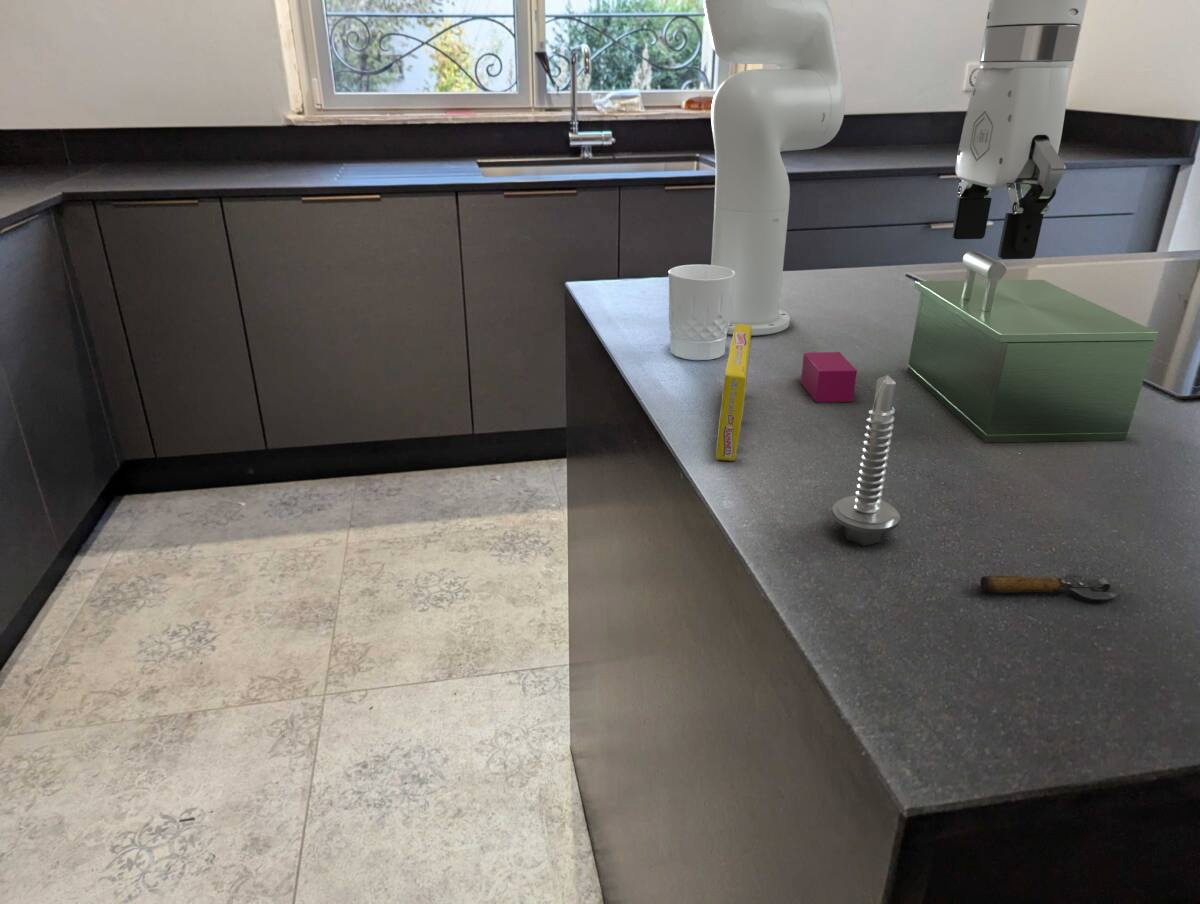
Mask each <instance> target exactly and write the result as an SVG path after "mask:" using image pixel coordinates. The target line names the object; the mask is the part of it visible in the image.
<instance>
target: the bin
mask: <svg viewBox="0 0 1200 904" xmlns="http://www.w3.org/2000/svg"><path fill="white" fill-rule="evenodd" d="M912 336H913V337H912V341H911V346H910V347H911V348H910V353H909V358H908V359H909V360H908V365H907V371H906V372H907V373H908V375H910V376H911V377H912V378H913V379H914V380H915V381H916V382H918V383H919V385H920V386H922V387H923V388H924V389H925V390H927V392H928V393H930V394H931V395H932V396H933V397H934V398H935V399H936V400H938V402H939V403H941V404H942V405H943V406H944V407H946V408H947V410H949V411H950V412H951V413H952V414H953V415H954V416H955V417H957V419H959V420H960V421H961V422H962V423H963V424H964V425H965V426H966V427H967V428H969V430H971V431H972V432H973V433H974V434H975V435H976V436H977V437H979V438H980V439H981V441H983V442H984V443H985V444H986V443H987V444H989V443H990V444H991V443H995V444H996V443H1040V442H1041V443H1042V442H1043V443H1044V442H1045V443H1046V442H1050V443H1051V442H1088V441H1089V442H1092V441H1093V442H1097V441H1099V442H1101V441H1102V442H1103V441H1126V440H1127V437H1128V433H1129V430H1130V428H1131V427H1130V426H1131V423H1132V420H1133V416H1134V414H1135V410H1136V408H1137V404H1138V400H1139V397H1140V393H1141V391H1142V387H1143V384H1144V380H1145V377H1146V373H1147V370H1148V367H1149V364H1150V360H1151V357H1152V354H1153V350H1154V347H1155V344H1156V340H1154V341H1083V342H1012V343H999V342H997V341H996V340H994V339H993V338H991V337H990V336H988V335H986V334H985V333H983V332H982V331H980V330H979V329H977V328H976V327H974V326H973V325H971V324H969V323H968V322H966V321H965V320H963V319H962V318H960V317H959V316H957V315H956V314H954V313H952V312H951V311H949V310H948V309H946V308H945V307H943V306H942V305H940V304H939V303H937V302H935V301H934V300H932V299H931V298H929V297H928V296H926V295H925V294H923V293H922V292H920V294H919V300H918V307H917V312H916V317H915V324H914V330H913V335H912Z"/></svg>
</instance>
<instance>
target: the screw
mask: <svg viewBox="0 0 1200 904" xmlns="http://www.w3.org/2000/svg"><path fill="white" fill-rule="evenodd" d="M896 386H897V382H895V380H894V379H893V378H891V376H890V375H888V374H886V375H884V376H882V377H879V378H877V381H876V387H875V394H874V400H873V403H872V408H871V409H870V410H868V413H869V417H867V418H866V421H867V422H868V424H867V425H865V429H866V430H867V431H866V432H865V433H864V437H866V439H865V440H863V442H862V443H863V444H864V445H865V446H864V447H863V448H862V449H861V450H862V452H863V454H862V455H861V456H860V458H861V459H862V461H861V462H860V463H859V466H860V467H861V469H859V470H858V473H859V474H860V476H858V477H857V480H858V481H859V483H857V484H856V488H858V490H856V491H855V494H856V495H850V496H849V495H848V496H845V497H843V498H841V499H839V500H837V501H836V502H835V503H833V506H832V509H831V515H832V517H833V519H834V520H835V521H836V522H837V523H839V524H840V525H842V526H844V532H845V533H844V534H845V537H846V540H847V541H850V542H853V543H855V544H857V545H861V546H863V547H864V546H869V545H874V544H878V543H881V539H882V533H887V532H891V531H892V530H894V529H896V528H897V527H898V526H899V525H900V522H901V521H900V520H901V515H900V513H899V512H898V510H897V509H896V508H894V506H893V505H892V504H891V503H889V502H887V501H885V500H883V499H882V497H881V496H882V495H883V490H882V489H884V486H885V485H884V481H885V480H886V477H885V474H887V469H886V467H888V461H887V460H888V459H889V457H890V456H889V455H890V454H888V453H889V452H890V450H891V448H890V446H889V445H891V443H892V440H891V437H892V436H893V432H892V430H894V427H895V426H894V424H893V422H894V421H895V419H896V418H895V416H894V415H893V414H895V412H896V409H895V408H894V406H893V405H894V404H893V403H894V397H895V392H896Z"/></svg>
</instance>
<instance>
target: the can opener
mask: <svg viewBox="0 0 1200 904" xmlns="http://www.w3.org/2000/svg"><path fill="white" fill-rule="evenodd" d="M1075 578H1080V579H1083V576H1081V575H1079V574H1075V573H1069V574H1066V575H1065V576H1064V578H1060V577H1056V576H1040V577H1039V576H1038V577H1034V576H1033V577H1032V576H1022V575H1010V574H1009V575H1008V574H1002V575H1001V574H995V575H984V576H981V579H980V587H981V590H982V591H984V592H987V593H988V592H989V593H999V594H1002V593H1003V594H1015V593H1017V594H1018V593H1031V592H1032V593H1033V592H1035V593H1036V592H1037V593H1038V592H1039V593H1055V594H1056V593H1059V592H1065V591H1066V590H1070V591H1072V592H1074V593H1076V594H1077V595H1079V596H1080V597H1082V598H1086V599H1088V600H1101V601H1107V600H1111V599H1114V598H1116V597H1118V596H1119V595H1120V594H1121V593H1122V591H1109V590H1110V589H1111V584H1110V582H1109V581H1108V580H1107V578H1103V577H1101V578H1098V579H1096V578H1095V579H1093V580H1089V581H1077V580H1075Z"/></svg>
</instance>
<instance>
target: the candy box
mask: <svg viewBox="0 0 1200 904" xmlns="http://www.w3.org/2000/svg"><path fill="white" fill-rule="evenodd" d="M751 329H752V326H751V325H744V324H736V325H735V329H734V333H733V335H732V338H731V343H730V349H729V353H728V358H727V364H726V369H725V373H724V381H723V389H722V395H721V396H722V397H721V405H720V411H719V412H720V413H719V420H718V431H717V432H718V433H717V441H716V451H715V459H716V460H717V461H728V462H734V461H736V458H737V451H738V446H739V439H740V434H741V426H742V422H743V421H742V420H743V413H744V407H745V400H746V392H747V385H748V384H747V383H748V375H749V364H750V363H749V362H750V353H751V340H752V336H751Z"/></svg>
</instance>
